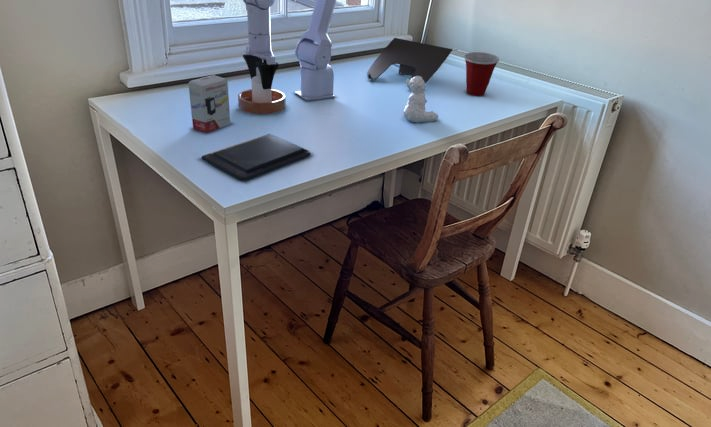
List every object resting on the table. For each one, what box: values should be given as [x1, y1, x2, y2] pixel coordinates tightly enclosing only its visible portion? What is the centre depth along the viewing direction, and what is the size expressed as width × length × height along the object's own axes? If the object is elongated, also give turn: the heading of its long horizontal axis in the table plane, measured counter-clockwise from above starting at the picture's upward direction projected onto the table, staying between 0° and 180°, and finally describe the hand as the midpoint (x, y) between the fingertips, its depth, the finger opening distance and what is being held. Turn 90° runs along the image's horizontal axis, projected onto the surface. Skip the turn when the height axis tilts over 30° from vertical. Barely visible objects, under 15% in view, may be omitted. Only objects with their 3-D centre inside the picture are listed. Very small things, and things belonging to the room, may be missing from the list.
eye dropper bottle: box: [251, 67, 272, 103], centre depth 139 cm, size 4×6×12 cm
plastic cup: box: [463, 51, 500, 97], centre depth 162 cm, size 11×11×12 cm
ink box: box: [188, 74, 231, 134], centre depth 125 cm, size 9×5×12 cm, turn 148°
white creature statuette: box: [403, 76, 439, 123], centre depth 138 cm, size 10×9×12 cm
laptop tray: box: [366, 37, 454, 92], centre depth 173 cm, size 23×23×9 cm
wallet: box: [201, 133, 311, 182], centre depth 113 cm, size 20×2×15 cm
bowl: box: [237, 88, 287, 115], centre depth 141 cm, size 13×13×4 cm
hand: (261, 84), depth 139 cm, fingers open, 7 cm apart
